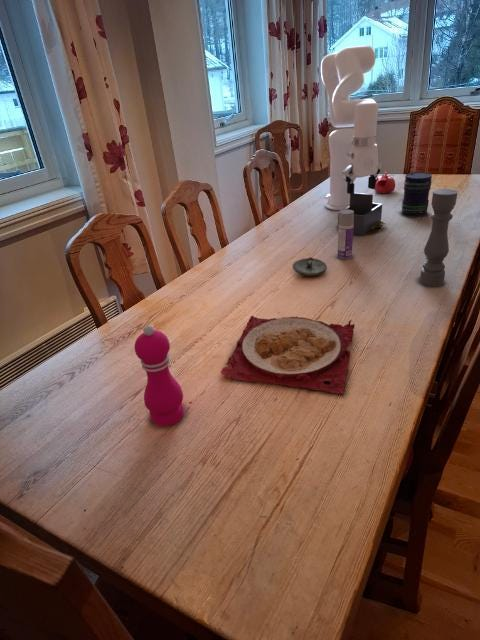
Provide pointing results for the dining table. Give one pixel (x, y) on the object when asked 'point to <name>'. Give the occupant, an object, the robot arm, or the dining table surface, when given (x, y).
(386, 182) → the pomegranate
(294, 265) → the lid
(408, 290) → the dining table surface
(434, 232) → the candle holder
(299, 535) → the dining table surface
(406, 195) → the storage jar
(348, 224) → the container
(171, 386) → the pepper mill
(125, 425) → the dining table surface
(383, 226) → the lily flower
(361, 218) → the bin
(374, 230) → the turntable
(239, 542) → the dining table surface
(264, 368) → the plate with food
